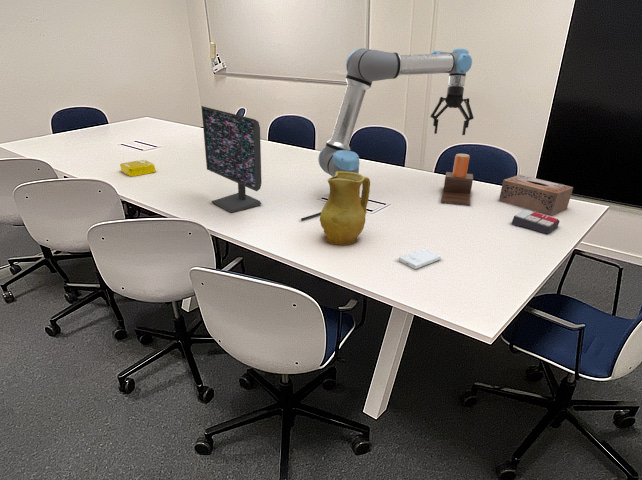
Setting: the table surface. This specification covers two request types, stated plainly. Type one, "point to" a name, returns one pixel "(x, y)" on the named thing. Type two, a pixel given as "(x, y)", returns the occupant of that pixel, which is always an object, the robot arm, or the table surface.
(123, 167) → the element tile
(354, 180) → the pitcher
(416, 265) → the hard drive
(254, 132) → the computer monitor
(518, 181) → the tissue box cover
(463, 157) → the canister
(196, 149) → the table surface
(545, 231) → the grey and red box
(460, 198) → the brown wooden step stand
